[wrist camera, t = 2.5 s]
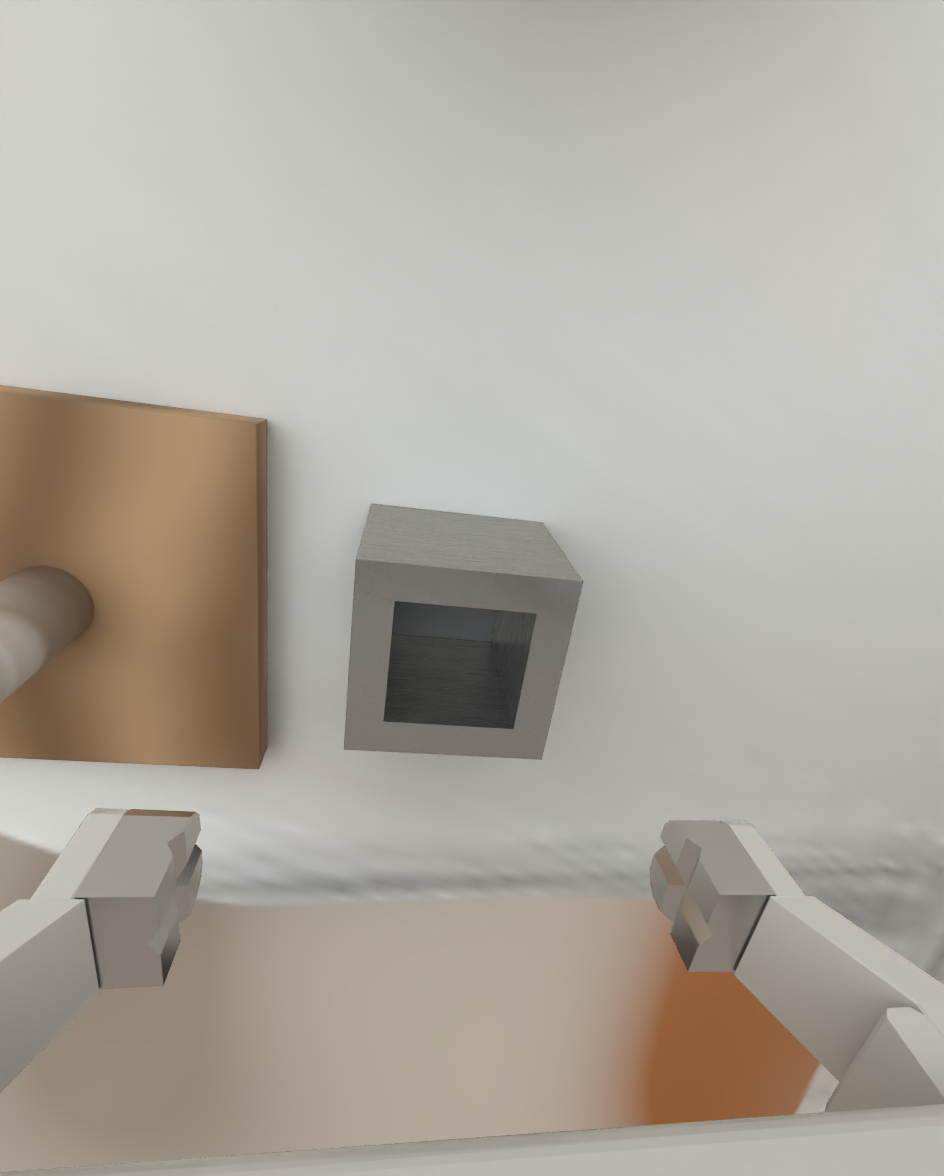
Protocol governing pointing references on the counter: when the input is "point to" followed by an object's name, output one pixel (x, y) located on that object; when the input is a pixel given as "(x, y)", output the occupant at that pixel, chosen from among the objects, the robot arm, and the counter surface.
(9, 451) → the post block
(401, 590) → the square sleeve
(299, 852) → the counter surface
